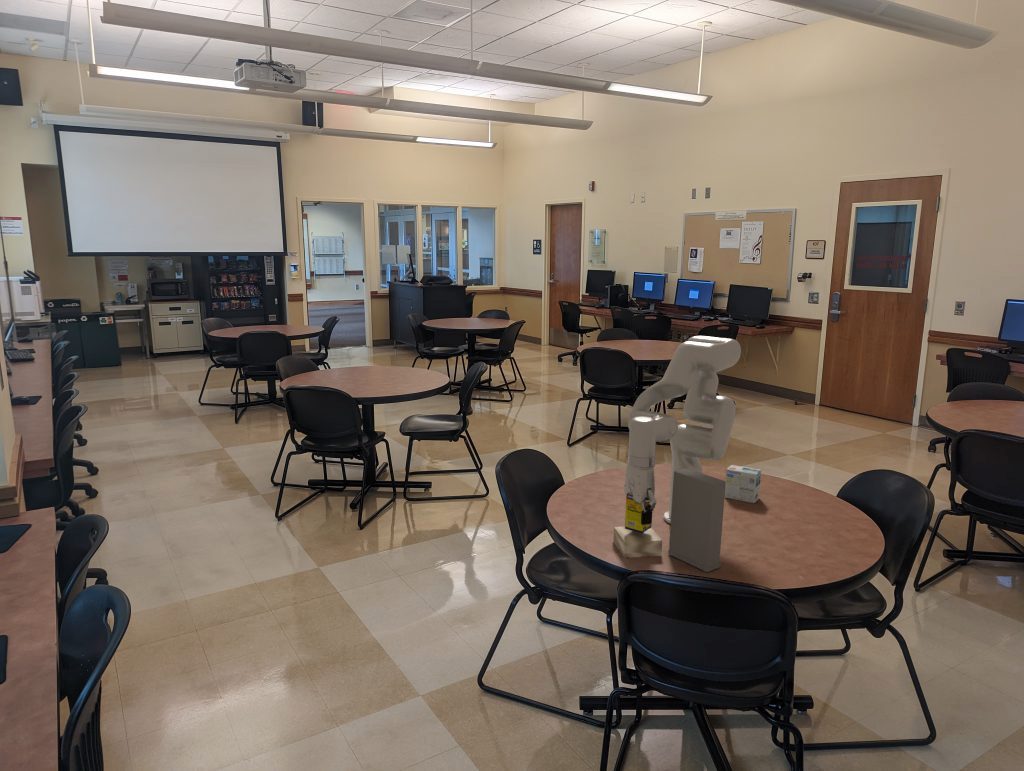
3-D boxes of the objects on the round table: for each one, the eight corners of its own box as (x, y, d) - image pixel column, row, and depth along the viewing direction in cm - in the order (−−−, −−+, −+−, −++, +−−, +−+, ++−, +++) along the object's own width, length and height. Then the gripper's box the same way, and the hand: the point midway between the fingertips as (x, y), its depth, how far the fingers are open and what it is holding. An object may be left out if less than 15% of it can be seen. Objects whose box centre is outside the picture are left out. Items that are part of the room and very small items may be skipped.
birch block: (648, 541, 208) (649, 525, 207) (661, 556, 197) (662, 540, 196) (613, 542, 206) (613, 526, 205) (624, 558, 196) (624, 542, 195)
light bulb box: (759, 498, 244) (762, 469, 242) (754, 504, 238) (757, 474, 236) (728, 492, 250) (731, 463, 248) (723, 497, 244) (725, 468, 242)
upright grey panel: (721, 567, 190) (728, 480, 185) (706, 573, 187) (713, 485, 182) (682, 549, 201) (687, 467, 196) (668, 554, 198) (673, 471, 193)
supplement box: (642, 534, 196) (644, 497, 194) (624, 529, 200) (625, 493, 198) (652, 527, 201) (654, 492, 199) (633, 522, 205) (635, 487, 202)
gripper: (615, 452, 203) (613, 508, 207) (644, 470, 187) (641, 531, 191) (638, 450, 206) (635, 506, 209) (669, 468, 189) (665, 528, 193)
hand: (638, 518), depth 200 cm, fingers closed on supplement box, 8 cm apart
